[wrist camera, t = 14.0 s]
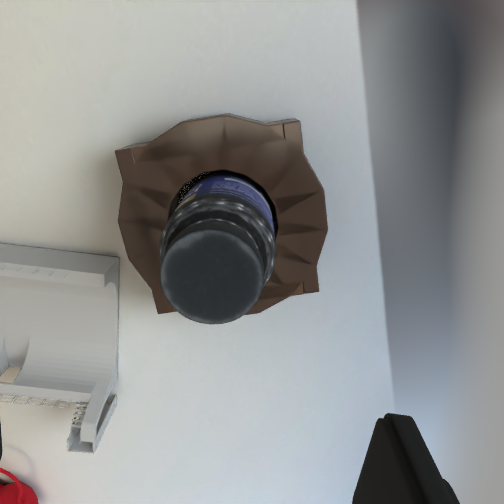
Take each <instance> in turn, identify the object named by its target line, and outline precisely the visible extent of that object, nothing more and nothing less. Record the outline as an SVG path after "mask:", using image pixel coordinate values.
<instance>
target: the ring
mask: <svg viewBox="0 0 504 504" xmlns="http://www.w3.org/2000/svg"><path fill="white" fill-rule="evenodd" d="M115 154H116V158H117V161H118V165H119V169H120V173H121V176H122V180H123V186H122V194H121V202H120V209H119V217H118V223H119V227H120V230H121V234H122V237H123V241H124V245H125V248H126V252H127V255H128V258H129V260H130V261H131V263H132V264H133V265H134V267H135V268H136V269H137V271H138V272H139V273H140V275H141V276H142V277H143V278H144V280H145V281H146V282H147V284H148V285H149V286H150V288H151V289H152V293H153V297H154V301H155V304H156V308H157V312H158V314H162V313H169V312H177V311H176V310H175V309H174V308H173V306H172V305H171V304H170V303H169V302H168V301H167V299H166V297H165V295H164V293H163V290H162V288H161V283H160V266H161V263H160V258H159V245H160V239H161V234H162V232H163V229H164V227H165V224H166V223H167V221H168V220H169V219H170V217H171V216H172V214H173V213H174V211H175V210H176V209H177V204H178V198H179V193H180V191H181V190H182V188H183V187H184V185H185V184H186V183H187V182H188V181H190V180H192V179H193V178H195V177H196V176H198V175H200V174H201V173H205V172H212V171H218V170H228V171H232V172H236V173H240V174H244V175H247V176H248V177H249V178H251V179H252V180H254V181H255V182H256V183H258V184H259V185H260V186H262V187H263V188H264V189H265V190H266V192H267V194H268V195H269V197H270V199H271V200H272V202H273V204H274V205H275V210H276V218H275V222H274V226H273V227H274V235H275V242H276V252H277V255H276V261H275V267H274V270H273V272H272V275H271V277H270V279H269V280H268V282H267V283H266V285H265V286H264V287H263V288H262V291H261V294H260V296H259V298H258V300H257V302H256V303H255V304H254V306H253V307H252V308H251V309H250V310H249V311H248V312H247V313H246V314H244V315H249V314H256V313H260V312H262V311H264V310H265V309H267V308H269V307H271V306H273V305H275V304H277V303H279V302H280V301H282V300H284V299H286V298H288V297H290V296H293V295H301V294H304V293H305V294H306V293H314V292H319V284H318V275H317V263H318V259H319V256H320V253H321V250H322V247H323V244H324V241H325V237H326V234H327V231H328V225H327V215H326V205H325V195H324V190H323V187H322V185H321V183H320V181H319V180H318V178H317V176H316V174H315V172H314V171H313V169H312V167H311V165H310V163H309V162H308V160H307V158H306V156H305V154H304V150H303V141H302V132H301V124H300V121H299V120H297V119H295V118H293V119H287V120H281V121H275V122H269V123H265V122H261V121H257V120H253V119H249V118H245V117H241V116H237V115H233V114H221V115H215V116H209V117H203V118H197V119H191V120H187V121H183V122H180V123H179V124H177V125H176V126H174V127H173V128H171V129H170V130H168V131H167V132H165V133H164V134H162V135H161V136H159V137H158V138H156V139H155V140H153V141H152V142H147V143H141V144H135V145H129V146H126V147H124V148H121V149H118V150H115Z"/></svg>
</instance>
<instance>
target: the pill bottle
mask: <svg viewBox="0 0 504 504" xmlns="http://www.w3.org/2000/svg"><path fill="white" fill-rule="evenodd" d="M276 255H277V252H276V242H275V235H274V227H273V219H272V213H271V206H270V203H269V201H268V198H267V196H266V194H265V192H264V191H263V189H262V188H261V187H260V186H259V185H258V184H257V183H256V182H255V181H254V180H252V179H251V178H249V177H247V176H245V175H243V174H240V173H236V172H232V171H219V172H215V173H212V174H210V175H208V176H206V177H203V178H201V179H199V180H198V181H196V182H195V184H194V185H193V186H192V187H191V188H190V190H189V191H188V193H187V194H186V195H185V197H184V198H183V200H182V201H181V203H180V204H179V206H178V207H177V209H176V210H175V211H174V213H173V214H172V216H171V217H170V219H169V220H168V221H167V223H166V224H165V227H164V229H163V232H162V234H161V239H160V245H159V258H160V263H161V266H160V283H161V288H162V290H163V293H164V295H165V297H166V299H167V301H168V302H169V303H170V304H171V305H172V306H173V308H174V309H175V310H176V311H177V312H179V313H180V314H181V315H183V316H185V317H186V318H188V319H190V320H193V321H196V322H199V323H204V324H223V323H227V322H231V321H233V320H236V319H238V318H240V317H242V316H243V315H244V314H246V313H247V312H248V311H249V310H250V309H251V308H252V307H253V306H254V304H255V303H256V302H257V300H258V298H259V296H260V294H261V291H262V288H263V287H264V286H265V285H266V283H267V282H268V280H269V279H270V277H271V275H272V272H273V270H274V267H275V261H276Z"/></svg>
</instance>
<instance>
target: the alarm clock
mask: <svg viewBox="0 0 504 504" xmlns="http://www.w3.org/2000/svg"><path fill="white" fill-rule="evenodd" d="M0 472H1V473H4V474H6V475H7V476H9V477H10V478H11V479H13V480H14V481H15V482H14V483H10V484H8V485H5V486H4V485H2V484H0V504H38V498H37V496H36V494H35V492H34V491H33V490H32V489H31V488H30V487H29V486H28V485H26V484H23V483H21V482H20V481H19V480H18V479H17V478H16V477H15V476H14V475H13V474H11V473H10V472H8V471H6V470H4V469H2V468H0Z"/></svg>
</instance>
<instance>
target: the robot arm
mask: <svg viewBox="0 0 504 504" xmlns="http://www.w3.org/2000/svg"><path fill="white" fill-rule="evenodd" d="M1 456H2V438H1V424H0V460H1ZM352 504H460V503H459V501H458V499H457V497H456V495H455V493H454V491H453V489H452V487H451V486H450V484H449V483H448V482H447V481H446V480H445V479H442V477H441V475H440V473H439V470H438V468H437V466H436V464H435V463H434V460H433V458H432V456H431V454H430V452H429V450H428V448H427V446H426V444H425V442H424V440H423V438H422V436H421V434H420V431H419V429H418V428H417V425H416V423H415V421H414V420H413V418H412V417H410V416H406V415H399V414H391V413H387V414H386V415H385V416H384V419H383V418H379V419H378V420H377V422H376V425H375V428H374V431H373V435H372V438H371V441H370V444H369V447H368V451H367V454H366V457H365V460H364V464H363V467H362V470H361V473H360V476H359V480H358V483H357V486H356V489H355V492H354V496H353V501H352Z"/></svg>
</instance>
